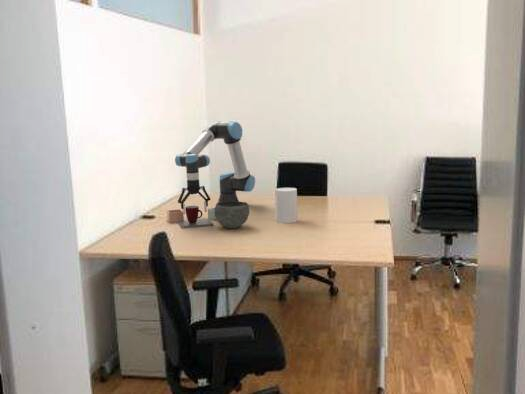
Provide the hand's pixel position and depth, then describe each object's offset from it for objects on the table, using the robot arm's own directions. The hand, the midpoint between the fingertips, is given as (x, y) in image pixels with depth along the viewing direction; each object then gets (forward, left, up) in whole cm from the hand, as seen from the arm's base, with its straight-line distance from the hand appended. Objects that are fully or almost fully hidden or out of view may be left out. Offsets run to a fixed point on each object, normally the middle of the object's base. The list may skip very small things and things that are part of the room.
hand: (194, 212), depth 363 cm
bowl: (-19, +19, -7) cm, 28 cm away
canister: (-55, +15, -7) cm, 58 cm away
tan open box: (+11, -10, -7) cm, 17 cm away
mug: (+1, +1, -6) cm, 6 cm away
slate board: (+1, +2, -7) cm, 7 cm away
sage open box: (-15, -6, -7) cm, 18 cm away
